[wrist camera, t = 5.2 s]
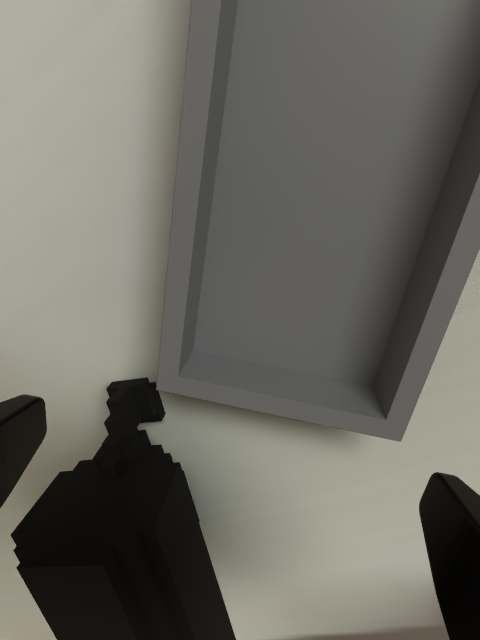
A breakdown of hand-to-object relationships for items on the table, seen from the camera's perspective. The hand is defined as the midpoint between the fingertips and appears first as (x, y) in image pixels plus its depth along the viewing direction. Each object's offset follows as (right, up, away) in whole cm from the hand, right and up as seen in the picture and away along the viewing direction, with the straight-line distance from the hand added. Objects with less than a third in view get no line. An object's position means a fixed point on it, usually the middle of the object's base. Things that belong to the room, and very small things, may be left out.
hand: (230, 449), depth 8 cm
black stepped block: (-4, -9, +18) cm, 21 cm away
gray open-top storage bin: (+4, +10, +9) cm, 14 cm away
